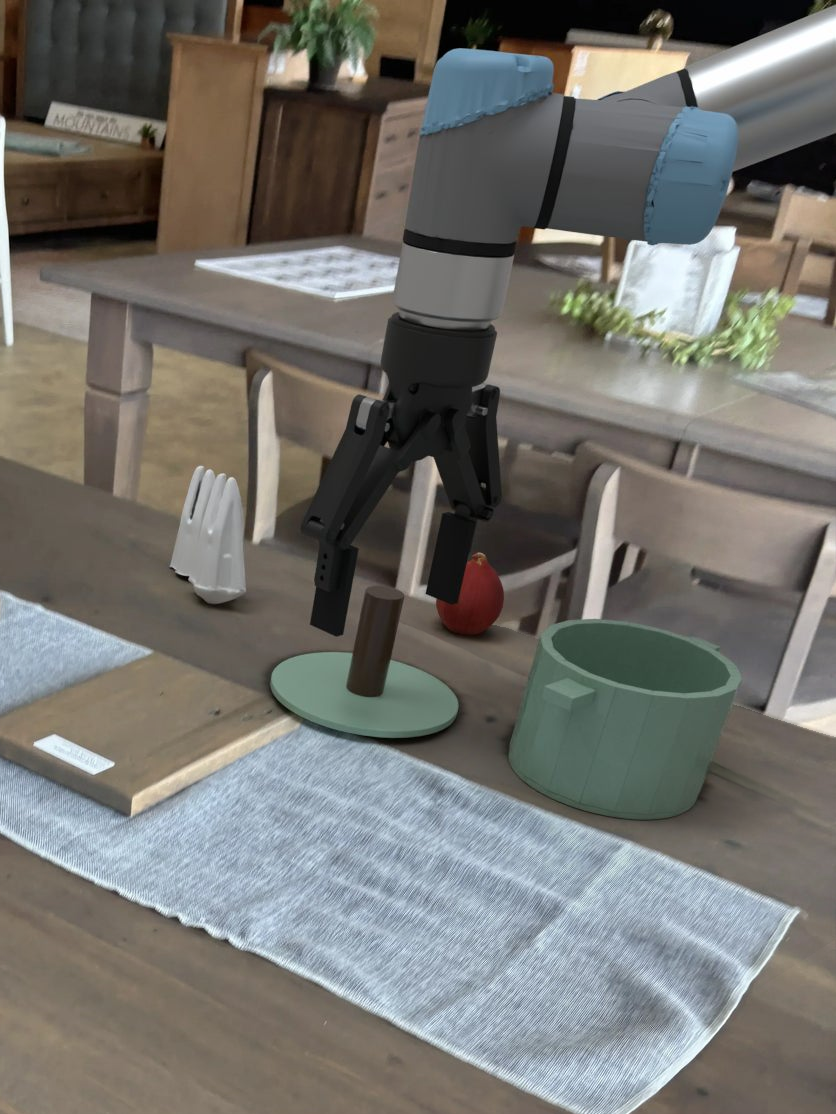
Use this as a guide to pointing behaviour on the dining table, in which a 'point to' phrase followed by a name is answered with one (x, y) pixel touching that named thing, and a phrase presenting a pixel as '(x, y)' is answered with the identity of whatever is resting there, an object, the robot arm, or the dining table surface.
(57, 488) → the dining table surface
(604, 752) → the pot
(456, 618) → the onion
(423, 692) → the lid
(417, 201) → the robot arm
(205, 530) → the gray pronged block
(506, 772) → the dining table surface
